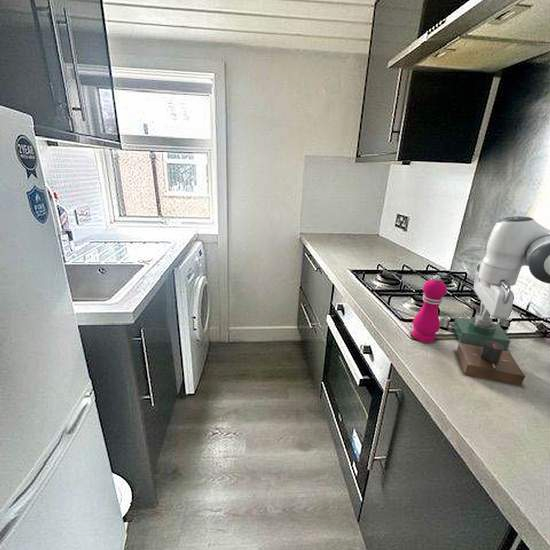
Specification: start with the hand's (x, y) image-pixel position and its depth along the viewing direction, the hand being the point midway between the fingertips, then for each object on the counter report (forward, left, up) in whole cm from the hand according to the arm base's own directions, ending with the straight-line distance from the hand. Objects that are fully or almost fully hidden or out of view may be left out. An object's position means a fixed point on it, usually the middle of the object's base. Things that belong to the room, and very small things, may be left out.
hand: (483, 317), depth 89 cm
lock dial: (+2, +16, -4) cm, 17 cm away
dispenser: (0, 0, -7) cm, 7 cm away
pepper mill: (+16, +6, -7) cm, 18 cm away
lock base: (+2, +16, -7) cm, 18 cm away
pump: (0, 0, -2) cm, 2 cm away
